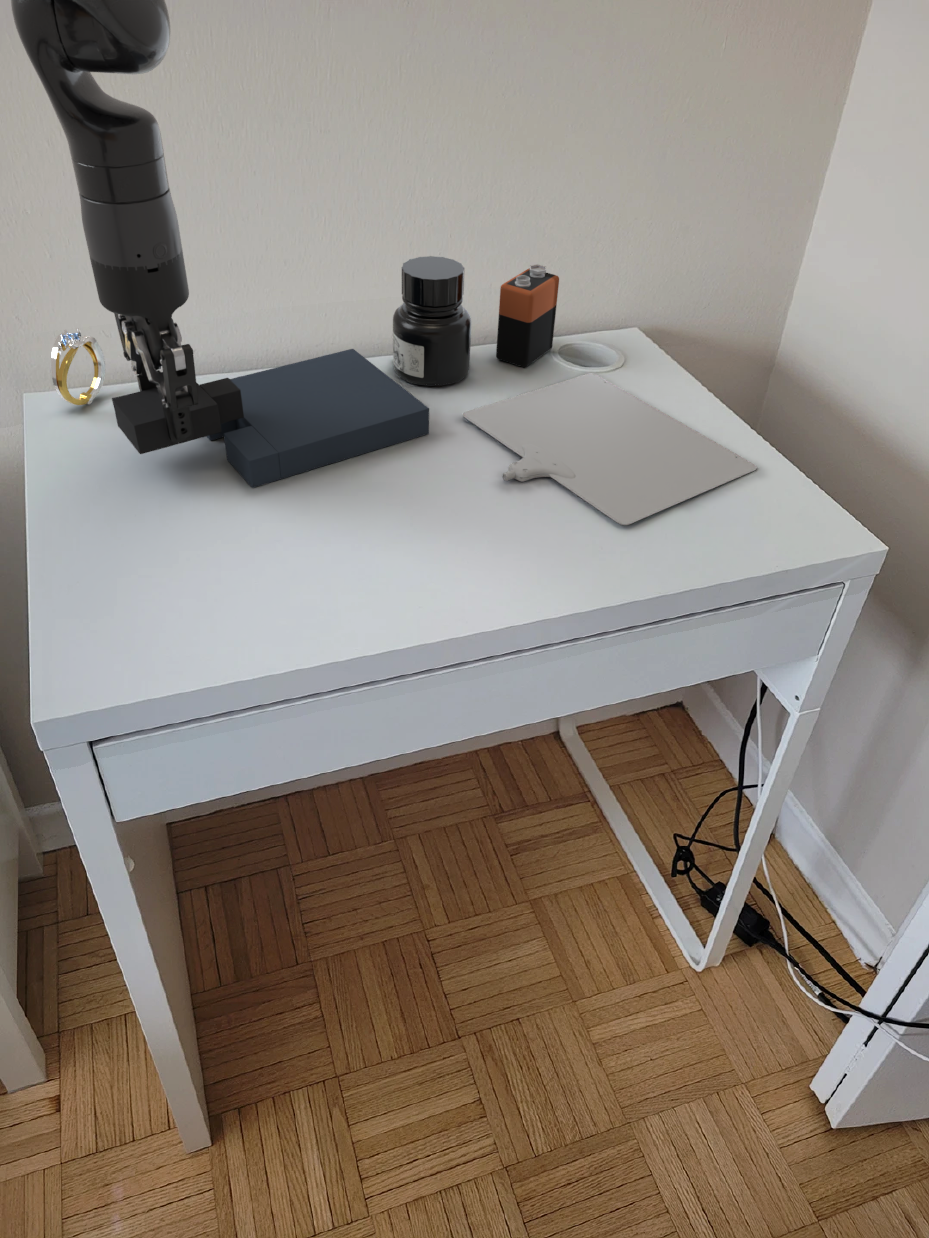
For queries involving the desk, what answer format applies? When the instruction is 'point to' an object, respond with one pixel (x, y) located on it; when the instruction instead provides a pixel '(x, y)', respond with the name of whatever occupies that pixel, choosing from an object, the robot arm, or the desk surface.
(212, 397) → the pad tile
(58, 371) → the ring
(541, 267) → the battery
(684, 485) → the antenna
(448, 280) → the ink bottle
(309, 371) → the pad mat
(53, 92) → the robot arm
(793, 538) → the desk surface
